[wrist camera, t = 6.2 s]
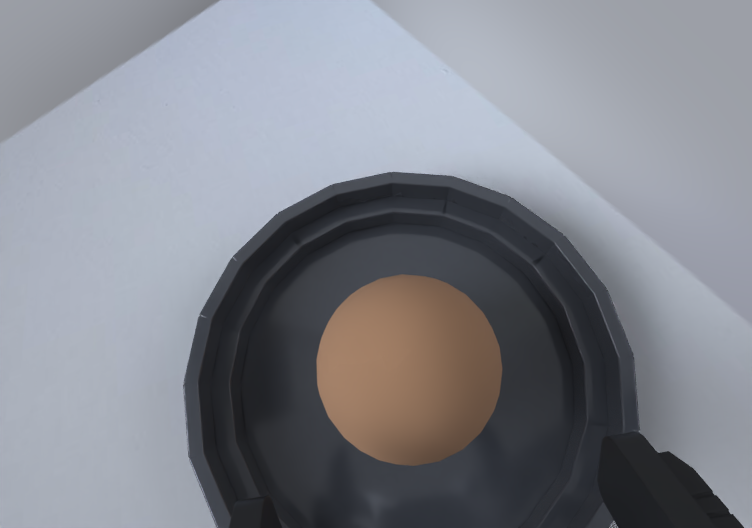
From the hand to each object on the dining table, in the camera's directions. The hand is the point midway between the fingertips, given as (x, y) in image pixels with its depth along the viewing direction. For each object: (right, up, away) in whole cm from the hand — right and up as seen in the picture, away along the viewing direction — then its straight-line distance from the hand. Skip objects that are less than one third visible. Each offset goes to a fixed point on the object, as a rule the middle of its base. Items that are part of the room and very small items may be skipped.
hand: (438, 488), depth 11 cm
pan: (0, 0, +9) cm, 9 cm away
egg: (0, 0, +9) cm, 9 cm away
